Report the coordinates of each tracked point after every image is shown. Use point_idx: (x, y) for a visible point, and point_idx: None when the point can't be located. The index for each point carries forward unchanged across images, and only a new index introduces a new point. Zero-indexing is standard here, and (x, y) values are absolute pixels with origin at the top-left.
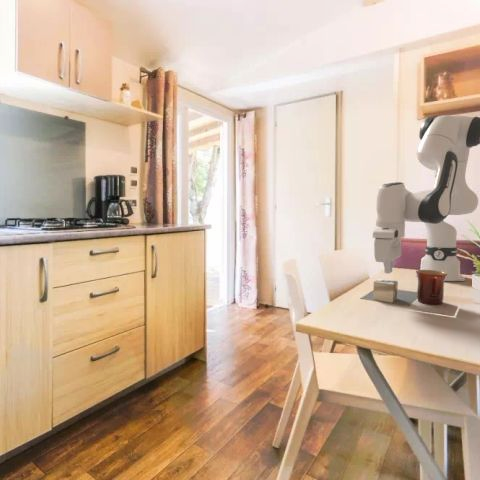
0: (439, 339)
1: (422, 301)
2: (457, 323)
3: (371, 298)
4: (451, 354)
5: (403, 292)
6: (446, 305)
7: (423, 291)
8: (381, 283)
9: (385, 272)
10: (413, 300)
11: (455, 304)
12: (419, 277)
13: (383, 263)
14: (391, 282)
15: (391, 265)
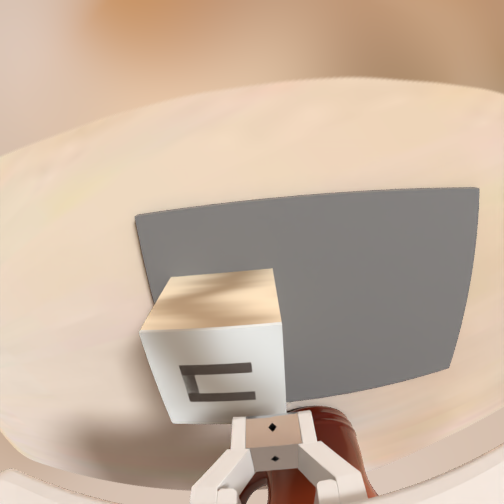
0: (37, 441)
1: None
2: (147, 473)
3: (184, 262)
4: (13, 442)
5: (427, 324)
6: None
7: None
8: (154, 371)
9: (234, 422)
10: (293, 399)
11: None
12: (281, 501)
13: (194, 484)
14: (206, 412)
15: (308, 477)
